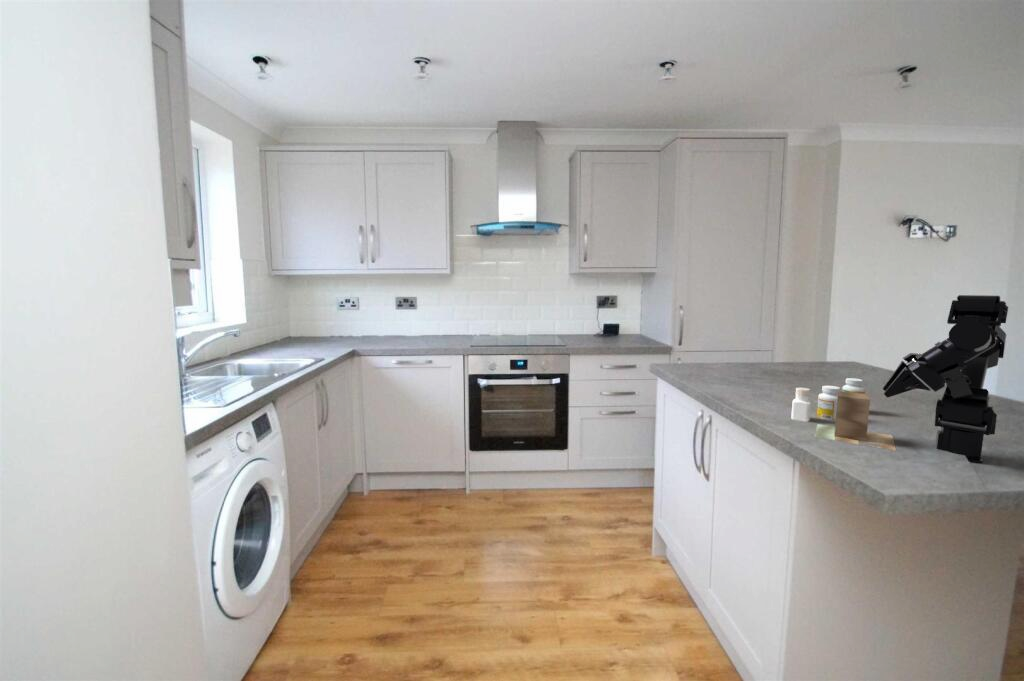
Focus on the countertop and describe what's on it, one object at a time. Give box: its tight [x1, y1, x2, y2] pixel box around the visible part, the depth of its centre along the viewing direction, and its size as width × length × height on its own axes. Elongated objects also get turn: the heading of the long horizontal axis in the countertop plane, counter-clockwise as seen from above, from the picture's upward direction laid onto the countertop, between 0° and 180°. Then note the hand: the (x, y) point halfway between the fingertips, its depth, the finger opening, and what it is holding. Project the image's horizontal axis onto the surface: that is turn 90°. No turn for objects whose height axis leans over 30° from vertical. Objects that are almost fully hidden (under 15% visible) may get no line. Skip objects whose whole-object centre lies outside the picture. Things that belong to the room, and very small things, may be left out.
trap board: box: [813, 424, 897, 452], centre depth 108 cm, size 15×12×1 cm
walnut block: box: [834, 390, 871, 443], centre depth 107 cm, size 6×6×10 cm
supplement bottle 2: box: [841, 377, 866, 394], centre depth 132 cm, size 5×5×10 cm
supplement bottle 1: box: [816, 385, 841, 421], centre depth 122 cm, size 5×5×10 cm
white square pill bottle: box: [790, 387, 812, 423], centre depth 121 cm, size 4×4×10 cm
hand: (884, 393), depth 103 cm, fingers open, 6 cm apart
